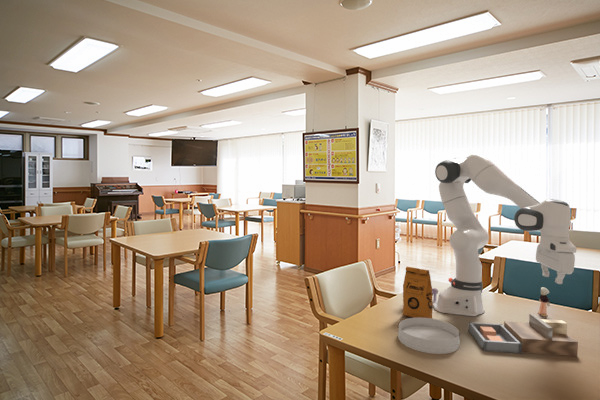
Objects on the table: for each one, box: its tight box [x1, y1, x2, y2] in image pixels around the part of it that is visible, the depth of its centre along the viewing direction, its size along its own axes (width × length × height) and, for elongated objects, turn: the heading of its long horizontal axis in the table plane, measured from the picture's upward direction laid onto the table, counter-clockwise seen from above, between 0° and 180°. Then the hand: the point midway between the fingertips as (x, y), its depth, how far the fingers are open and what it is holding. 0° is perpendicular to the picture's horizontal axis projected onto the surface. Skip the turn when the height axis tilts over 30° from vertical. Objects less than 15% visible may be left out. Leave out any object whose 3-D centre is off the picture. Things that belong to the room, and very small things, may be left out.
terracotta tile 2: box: [480, 326, 496, 338], centre depth 144 cm, size 4×4×2 cm
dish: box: [397, 317, 461, 355], centre depth 141 cm, size 22×22×5 cm
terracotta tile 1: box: [486, 335, 503, 341], centre depth 136 cm, size 4×4×2 cm
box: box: [468, 321, 522, 354], centre depth 140 cm, size 12×18×4 cm
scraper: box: [528, 313, 568, 339], centre depth 137 cm, size 9×14×4 cm, turn 171°
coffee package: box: [402, 266, 434, 319], centre depth 164 cm, size 10×12×22 cm
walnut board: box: [503, 321, 579, 357], centre depth 138 cm, size 18×16×5 cm
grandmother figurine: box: [537, 286, 551, 317], centre depth 168 cm, size 8×4×13 cm, turn 5°
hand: (552, 279), depth 139 cm, fingers open, 8 cm apart
